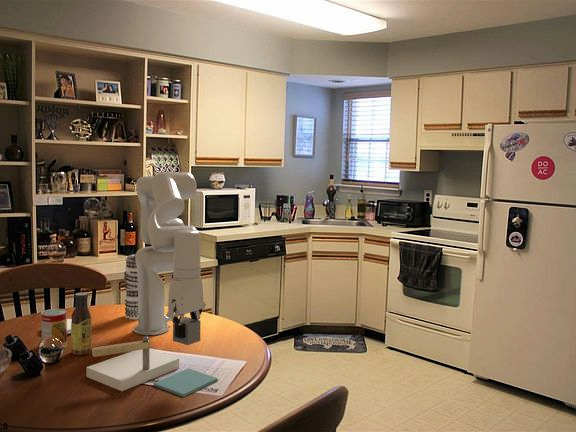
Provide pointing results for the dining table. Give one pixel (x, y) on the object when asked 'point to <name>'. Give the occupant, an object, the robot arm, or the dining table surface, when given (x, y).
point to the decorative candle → (131, 287)
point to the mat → (185, 382)
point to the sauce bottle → (81, 326)
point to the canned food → (55, 324)
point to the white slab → (132, 368)
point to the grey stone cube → (189, 331)
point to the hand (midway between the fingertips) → (186, 334)
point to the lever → (121, 347)
